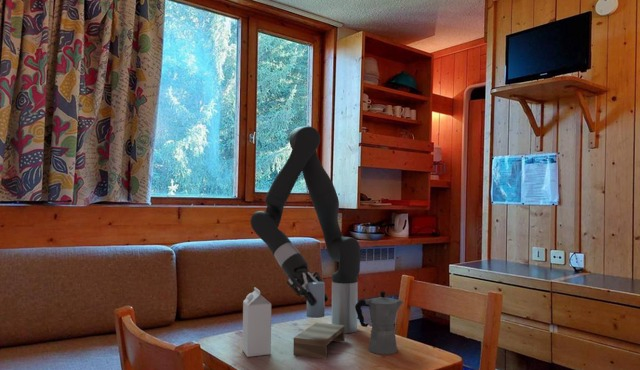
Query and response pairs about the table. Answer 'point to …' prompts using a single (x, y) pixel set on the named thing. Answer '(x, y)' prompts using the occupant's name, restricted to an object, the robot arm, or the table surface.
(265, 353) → the milk carton
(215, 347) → the table surface
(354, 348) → the table surface
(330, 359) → the table surface
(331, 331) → the shelf
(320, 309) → the blue dome-topped cylinder
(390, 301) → the coffeepot
